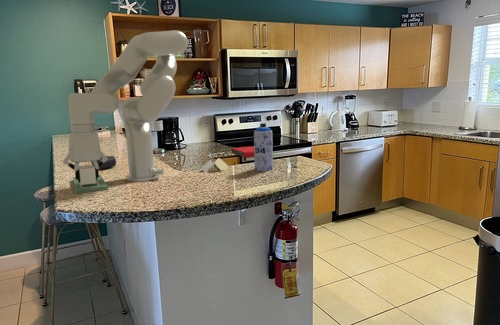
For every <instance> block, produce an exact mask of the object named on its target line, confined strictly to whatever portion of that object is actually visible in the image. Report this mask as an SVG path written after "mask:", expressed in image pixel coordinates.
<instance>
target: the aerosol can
mask: <svg viewBox="0 0 500 325" xmlns="http://www.w3.org/2000/svg"><path fill="white" fill-rule="evenodd" d="M273 145H274V143H273V130H272V129H271V128H270V127H269V126H267V124H266V123H259V126H258V127H256V128H255V130H254V131H253V146H254V156H255V157H254V171H256V172H268V171H272V170H274V160H273V159H274V154H273V153H274V151H273V148H274V147H273Z"/></svg>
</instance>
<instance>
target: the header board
mask: <svg viewBox="0 0 500 325" xmlns="http://www.w3.org/2000/svg"><path fill="white" fill-rule="evenodd" d="M72 182H73V185H74V189H75V193H76V194H77V195H78V194H86V193H93V192H94V193H95V192H100V191H101V192H102V191H106V190H109V186H108V184H107V182H106V181H105V179H104V178H103V176H102V175H101V174H100V173H99V178H97V181H96V183H95V184H91V185H88V184H86V185H81V183H80V182H78V180H76V177H73V176H72Z"/></svg>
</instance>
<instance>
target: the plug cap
mask: <svg viewBox="0 0 500 325" xmlns="http://www.w3.org/2000/svg"><path fill="white" fill-rule="evenodd" d="M78 168H79V172H80V183H81V185H86V184H95V183H96V175H95V167H94V166H93V165H92V164H86V165H79V167H78Z"/></svg>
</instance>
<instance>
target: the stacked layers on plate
mask: <svg viewBox="0 0 500 325" xmlns="http://www.w3.org/2000/svg"><path fill="white" fill-rule="evenodd" d="M228 169H229V167H228V164H227V163H226V162H225V161H224V160H222V159H221V158H220V157H219V158H217V159H216V160H215V159H214V161H213V160H211V159H209V161H207V162H206V163H205V164H204V165H203V166H202V167H201V170H202V171H203V172H204V173H205V172H220V171H225V170H228Z"/></svg>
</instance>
